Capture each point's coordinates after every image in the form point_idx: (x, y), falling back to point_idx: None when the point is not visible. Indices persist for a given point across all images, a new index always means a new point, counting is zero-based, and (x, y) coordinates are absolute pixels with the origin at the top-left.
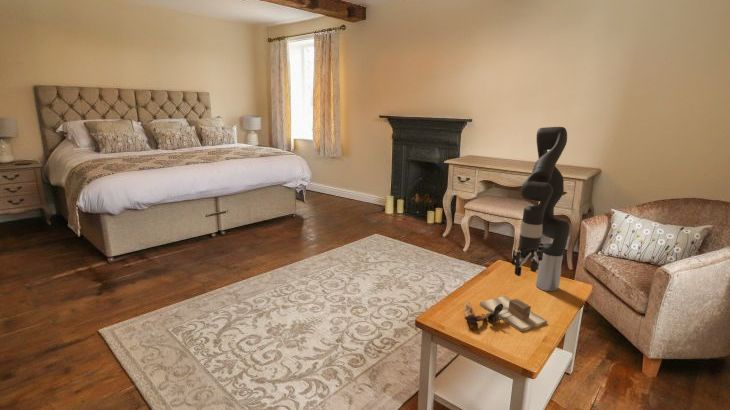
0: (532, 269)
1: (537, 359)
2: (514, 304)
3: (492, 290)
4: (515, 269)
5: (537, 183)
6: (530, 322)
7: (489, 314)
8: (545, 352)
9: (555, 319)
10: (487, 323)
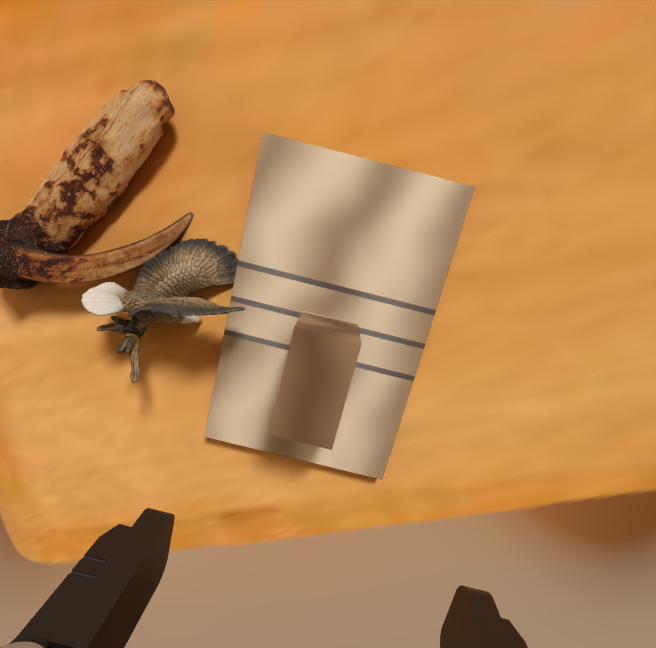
0: (457, 632)
1: None
2: (285, 366)
3: (523, 65)
4: (60, 593)
5: None
6: None
7: (96, 305)
8: None
9: (453, 480)
10: None
